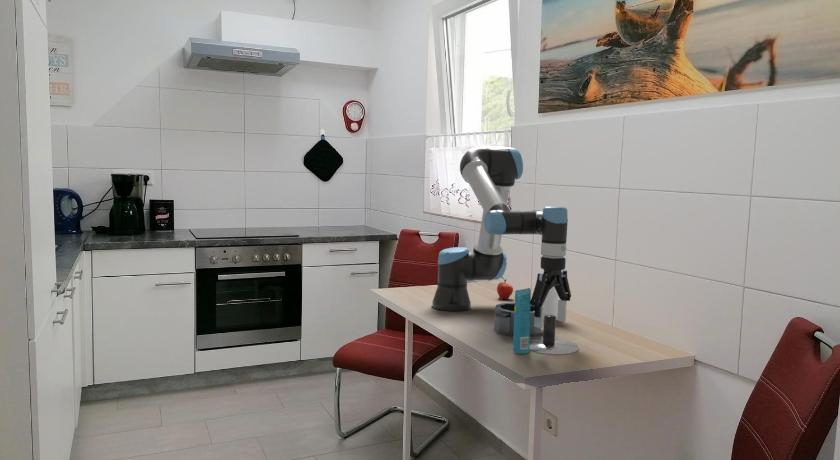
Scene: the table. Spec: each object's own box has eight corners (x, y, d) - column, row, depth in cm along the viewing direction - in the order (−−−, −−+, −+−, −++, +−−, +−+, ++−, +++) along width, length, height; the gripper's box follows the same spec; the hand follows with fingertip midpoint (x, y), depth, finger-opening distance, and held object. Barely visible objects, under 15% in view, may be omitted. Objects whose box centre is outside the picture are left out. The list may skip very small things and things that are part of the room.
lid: (508, 346, 194) (509, 315, 193) (539, 335, 207) (540, 307, 206) (559, 359, 181) (560, 326, 180) (588, 347, 195) (590, 317, 194)
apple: (510, 297, 267) (511, 274, 266) (513, 300, 260) (514, 277, 259) (493, 296, 267) (494, 274, 266) (495, 300, 260) (496, 276, 259)
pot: (519, 340, 199) (521, 316, 198) (481, 331, 209) (482, 308, 208) (553, 329, 214) (554, 307, 213) (515, 321, 224) (516, 299, 223)
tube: (520, 347, 191) (522, 286, 189) (534, 350, 188) (536, 288, 186) (507, 352, 185) (509, 289, 183) (521, 356, 182) (524, 292, 180)
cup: (544, 321, 225) (546, 278, 223) (530, 316, 232) (532, 274, 230) (561, 320, 228) (564, 277, 227) (547, 315, 236) (549, 273, 234)
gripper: (542, 261, 180) (539, 332, 181) (584, 254, 198) (580, 319, 200) (520, 258, 185) (517, 328, 186) (563, 252, 203) (560, 315, 205)
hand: (550, 324), depth 193 cm, fingers open, 13 cm apart
